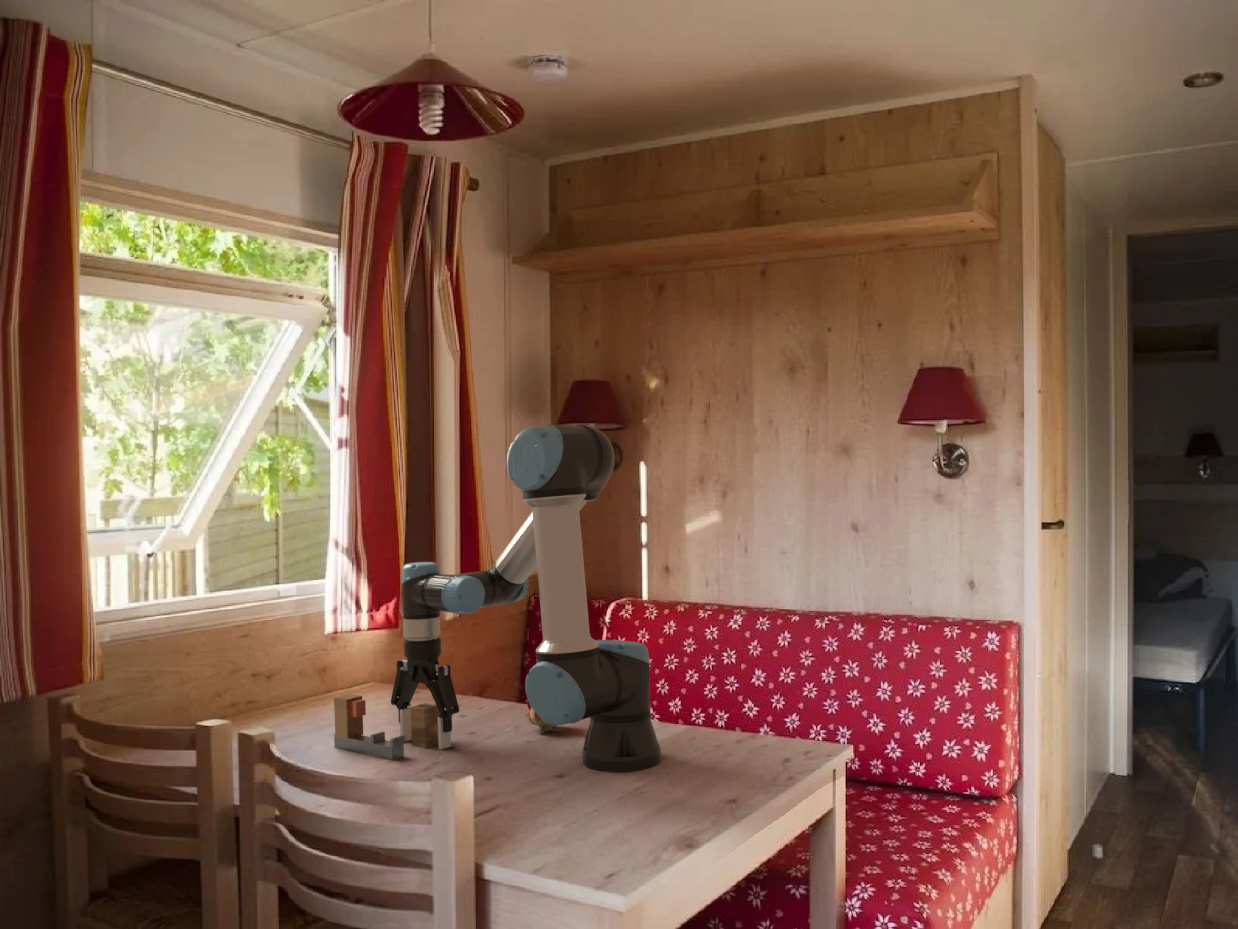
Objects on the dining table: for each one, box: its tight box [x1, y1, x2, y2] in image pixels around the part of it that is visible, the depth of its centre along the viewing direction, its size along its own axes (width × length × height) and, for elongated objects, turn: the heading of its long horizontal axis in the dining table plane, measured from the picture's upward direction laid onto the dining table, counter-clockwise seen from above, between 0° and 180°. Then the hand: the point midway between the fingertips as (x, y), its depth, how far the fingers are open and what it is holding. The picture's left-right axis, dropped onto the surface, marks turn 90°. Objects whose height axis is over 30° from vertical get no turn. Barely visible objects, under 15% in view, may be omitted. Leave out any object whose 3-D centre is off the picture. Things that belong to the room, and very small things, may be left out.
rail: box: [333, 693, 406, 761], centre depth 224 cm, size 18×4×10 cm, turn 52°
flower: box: [524, 698, 560, 735], centre depth 237 cm, size 10×9×8 cm
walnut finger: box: [410, 702, 440, 749], centre depth 230 cm, size 6×4×8 cm, turn 142°
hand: (425, 743), depth 229 cm, fingers open, 11 cm apart
